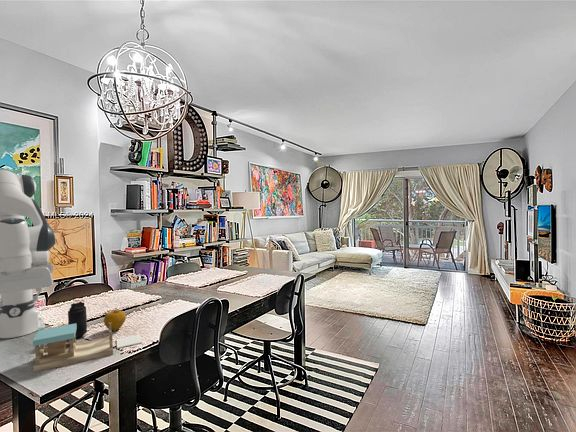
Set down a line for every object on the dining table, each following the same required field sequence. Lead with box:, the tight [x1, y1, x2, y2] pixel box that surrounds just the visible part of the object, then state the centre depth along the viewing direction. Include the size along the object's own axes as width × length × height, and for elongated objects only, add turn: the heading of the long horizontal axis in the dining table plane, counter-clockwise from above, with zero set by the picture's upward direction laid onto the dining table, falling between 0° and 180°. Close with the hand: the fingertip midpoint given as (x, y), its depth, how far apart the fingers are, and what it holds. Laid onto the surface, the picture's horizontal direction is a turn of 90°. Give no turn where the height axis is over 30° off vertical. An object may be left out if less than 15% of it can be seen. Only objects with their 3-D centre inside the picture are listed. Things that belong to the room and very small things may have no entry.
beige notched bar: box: [33, 323, 114, 373], centre depth 122 cm, size 14×24×8 cm, turn 120°
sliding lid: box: [32, 323, 77, 347], centre depth 119 cm, size 11×12×2 cm
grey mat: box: [116, 334, 143, 350], centre depth 133 cm, size 9×9×1 cm
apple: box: [103, 309, 127, 331], centre depth 146 cm, size 9×9×9 cm
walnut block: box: [46, 340, 67, 357], centre depth 119 cm, size 5×5×6 cm
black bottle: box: [67, 301, 88, 339], centre depth 140 cm, size 7×7×15 cm
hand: (18, 303), depth 113 cm, fingers open, 8 cm apart
